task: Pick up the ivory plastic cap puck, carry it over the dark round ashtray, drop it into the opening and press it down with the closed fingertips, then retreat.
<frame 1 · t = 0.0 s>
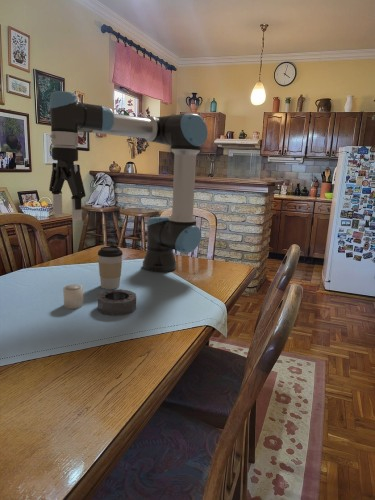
hand: (67, 217, 112), 28 cm above the table, fingers open, 13 cm apart
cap: (73, 305, 115), on the table
dark round ashtray: (117, 307, 115), on the table
coffee cup: (110, 286, 134), on the table
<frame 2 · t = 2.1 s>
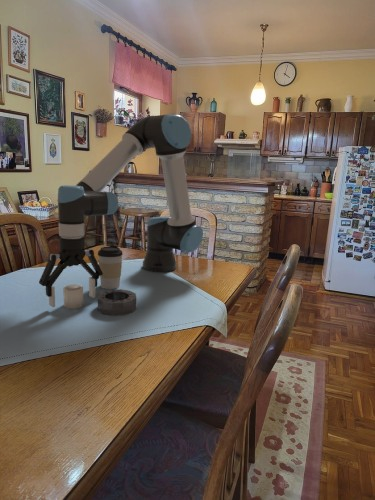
hand: (72, 301, 115), 1 cm above the table, fingers open, 13 cm apart
nothing on the table moved.
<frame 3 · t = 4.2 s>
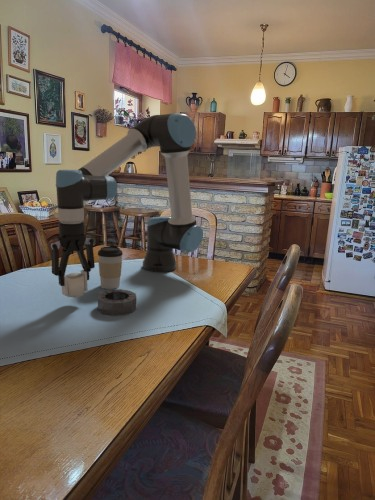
hand: (75, 292, 115), 4 cm above the table, fingers closed on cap, 6 cm apart
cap: (75, 293, 115), point 4 cm above the table, touching gripper
everything else where it was.
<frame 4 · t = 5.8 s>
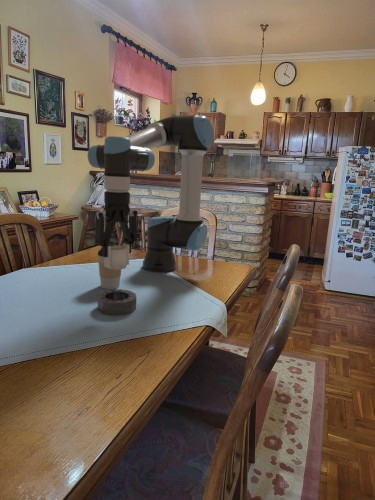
hand: (116, 265, 111), 14 cm above the table, fingers closed on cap, 6 cm apart
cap: (116, 266, 112), point 14 cm above the table, touching gripper
everything else where it was.
when the fingers open (4 cm above the table, at t = 7.5 s): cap drops 4 cm, resting in dark round ashtray.
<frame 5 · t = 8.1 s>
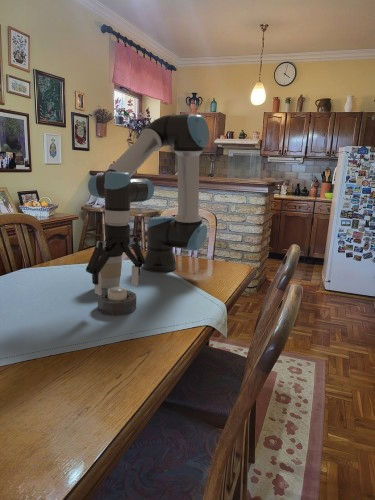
hand: (117, 289, 113), 6 cm above the table, fingers open, 13 cm apart
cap: (117, 307, 115), resting in dark round ashtray
everything else where it was.
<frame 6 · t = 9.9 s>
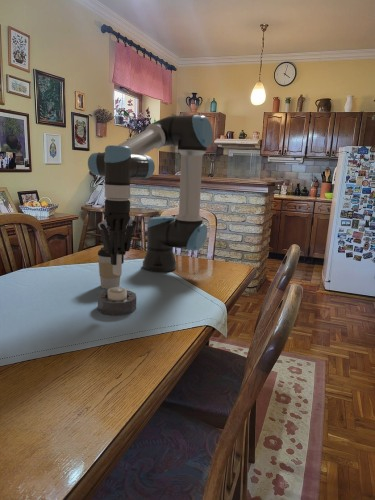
hand: (117, 274, 112), 11 cm above the table, fingers closed
nothing on the table moved.
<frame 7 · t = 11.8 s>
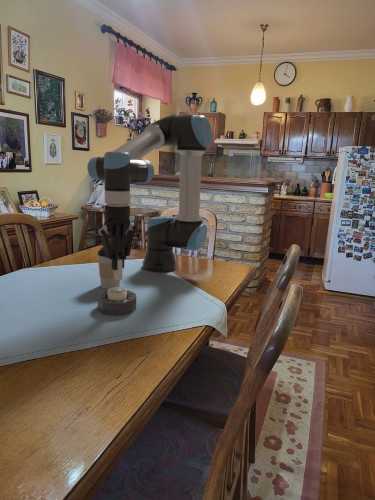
hand: (118, 278, 113), 10 cm above the table, fingers closed
nothing on the table moved.
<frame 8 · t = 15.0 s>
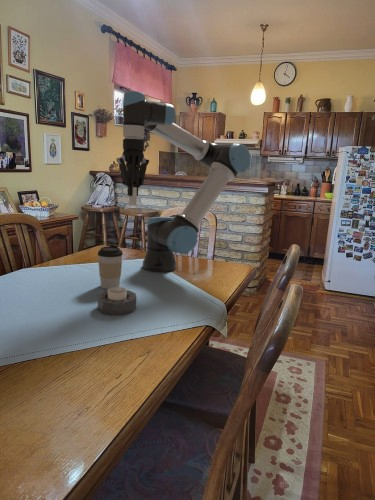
hand: (132, 204, 132), 30 cm above the table, fingers closed
nothing on the table moved.
at the end: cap 0.0 cm from the dark round ashtray (horizontally); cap resting in dark round ashtray; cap tilted 0° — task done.
